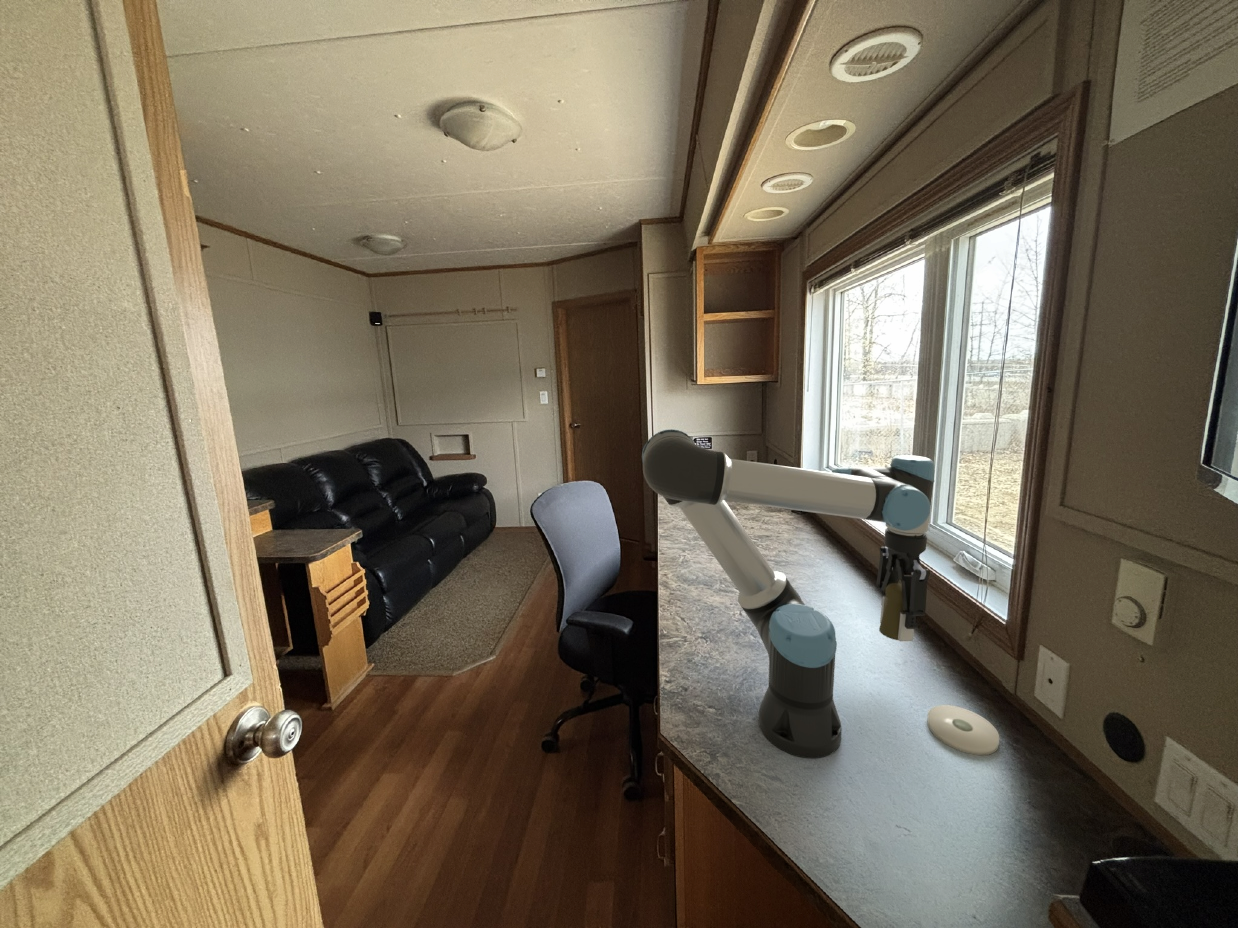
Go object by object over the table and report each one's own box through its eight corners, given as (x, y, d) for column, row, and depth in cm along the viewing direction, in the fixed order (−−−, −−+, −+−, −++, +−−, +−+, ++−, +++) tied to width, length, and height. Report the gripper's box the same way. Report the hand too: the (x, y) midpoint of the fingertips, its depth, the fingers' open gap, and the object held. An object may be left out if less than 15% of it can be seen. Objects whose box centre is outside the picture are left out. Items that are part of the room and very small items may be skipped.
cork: (882, 622, 106) (886, 577, 104) (913, 631, 102) (918, 584, 100) (876, 634, 101) (881, 587, 99) (908, 643, 98) (914, 595, 96)
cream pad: (953, 756, 84) (954, 749, 84) (914, 712, 95) (915, 706, 94) (1014, 753, 84) (1015, 746, 84) (968, 710, 95) (969, 703, 95)
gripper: (956, 546, 88) (943, 657, 92) (896, 515, 107) (887, 609, 111) (917, 547, 88) (905, 658, 92) (864, 516, 107) (856, 610, 111)
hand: (895, 631), depth 102 cm, fingers closed on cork, 6 cm apart
